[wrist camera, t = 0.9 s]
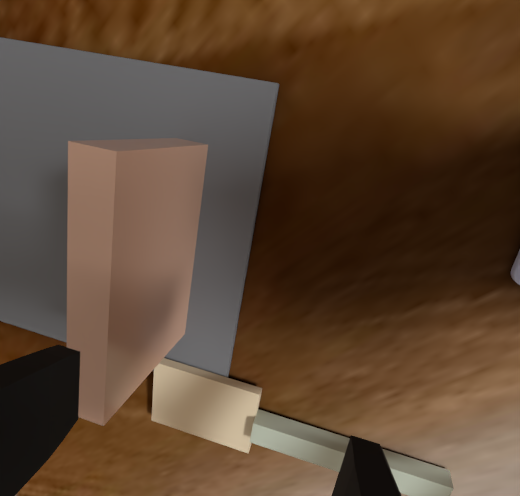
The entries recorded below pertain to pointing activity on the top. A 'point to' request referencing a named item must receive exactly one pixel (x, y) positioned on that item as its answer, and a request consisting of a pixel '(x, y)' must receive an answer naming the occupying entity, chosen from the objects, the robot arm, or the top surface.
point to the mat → (117, 128)
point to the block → (128, 260)
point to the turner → (266, 426)
